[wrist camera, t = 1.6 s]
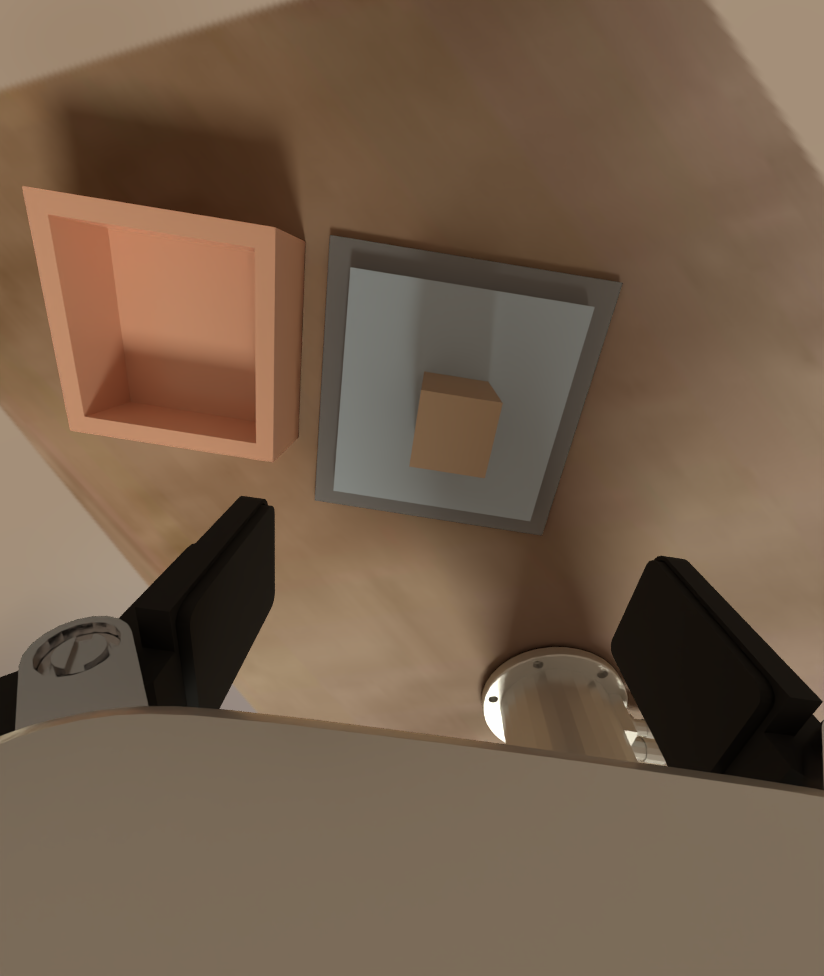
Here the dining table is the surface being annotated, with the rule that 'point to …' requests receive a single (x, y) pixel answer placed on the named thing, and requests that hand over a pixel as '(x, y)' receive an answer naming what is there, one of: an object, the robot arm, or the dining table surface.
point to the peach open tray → (172, 323)
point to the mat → (466, 274)
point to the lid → (452, 392)
